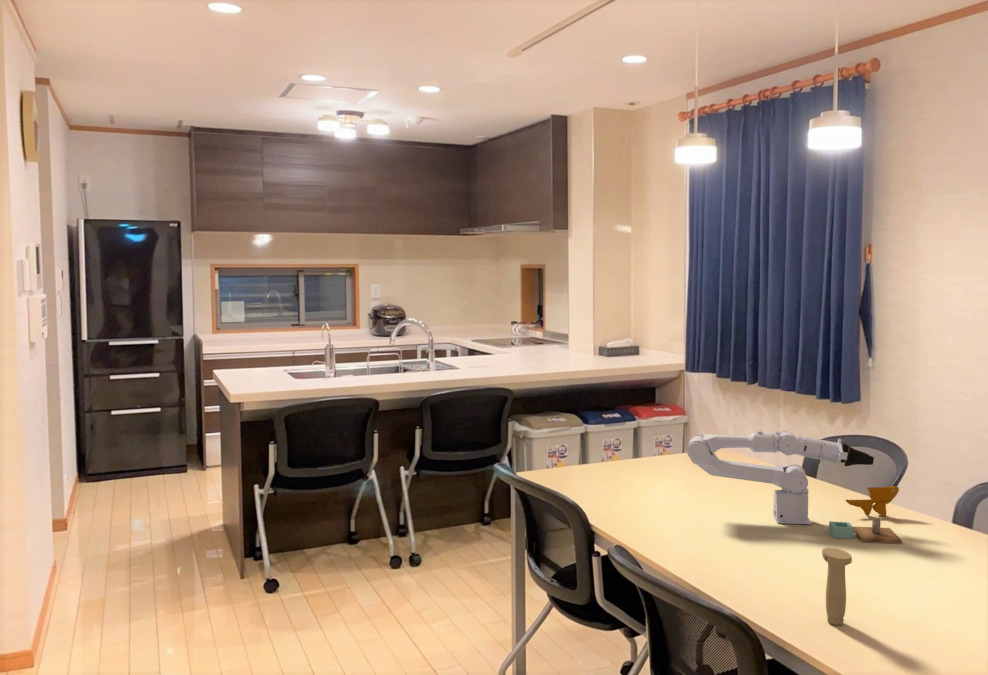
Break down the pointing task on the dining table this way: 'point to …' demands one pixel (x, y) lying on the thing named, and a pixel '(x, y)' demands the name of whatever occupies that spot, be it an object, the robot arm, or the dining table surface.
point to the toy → (876, 499)
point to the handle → (836, 584)
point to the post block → (876, 533)
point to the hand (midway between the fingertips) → (870, 459)
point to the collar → (841, 530)
